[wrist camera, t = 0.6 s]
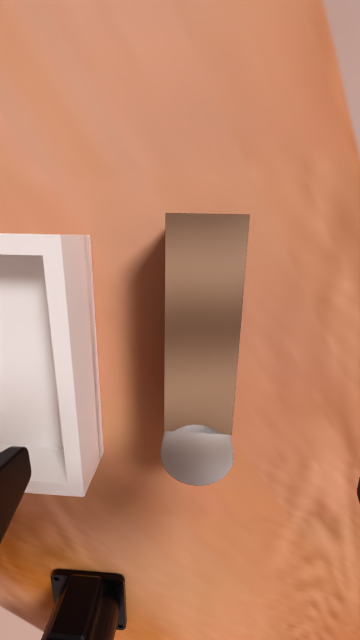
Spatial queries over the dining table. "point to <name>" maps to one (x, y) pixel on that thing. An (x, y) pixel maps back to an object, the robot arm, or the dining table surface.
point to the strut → (202, 342)
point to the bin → (50, 360)
